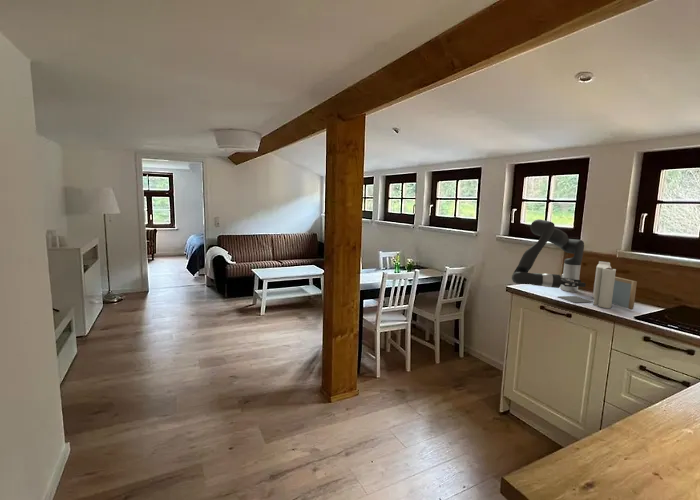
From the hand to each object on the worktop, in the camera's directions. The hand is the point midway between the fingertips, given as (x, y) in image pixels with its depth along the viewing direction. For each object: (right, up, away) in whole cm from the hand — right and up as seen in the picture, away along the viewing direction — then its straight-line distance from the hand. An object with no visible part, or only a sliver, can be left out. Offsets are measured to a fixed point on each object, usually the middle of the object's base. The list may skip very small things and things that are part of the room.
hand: (582, 283), depth 207 cm
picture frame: (+18, -12, -1) cm, 22 cm away
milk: (+22, -11, +19) cm, 31 cm away
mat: (+3, -11, +12) cm, 16 cm away
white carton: (+10, -13, -1) cm, 17 cm away
